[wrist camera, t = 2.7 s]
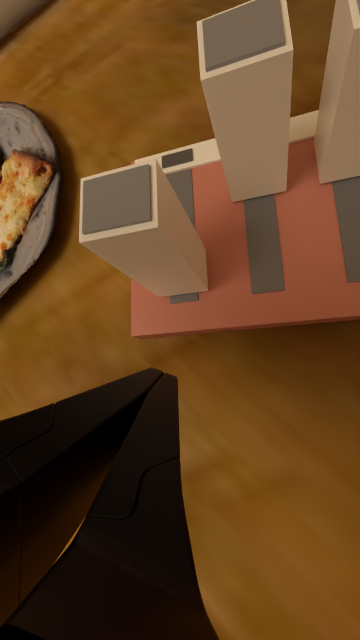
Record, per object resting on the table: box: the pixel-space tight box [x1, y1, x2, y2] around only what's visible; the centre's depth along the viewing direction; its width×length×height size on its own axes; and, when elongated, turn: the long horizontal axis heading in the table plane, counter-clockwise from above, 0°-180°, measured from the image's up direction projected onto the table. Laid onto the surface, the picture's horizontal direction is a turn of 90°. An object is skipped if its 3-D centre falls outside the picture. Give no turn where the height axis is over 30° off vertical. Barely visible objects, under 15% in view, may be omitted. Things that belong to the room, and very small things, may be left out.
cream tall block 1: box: [79, 158, 208, 297], centre depth 16 cm, size 3×4×9 cm
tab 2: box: [197, 0, 293, 202], centre depth 16 cm, size 3×4×9 cm
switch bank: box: [130, 110, 360, 339], centre depth 21 cm, size 14×19×2 cm
